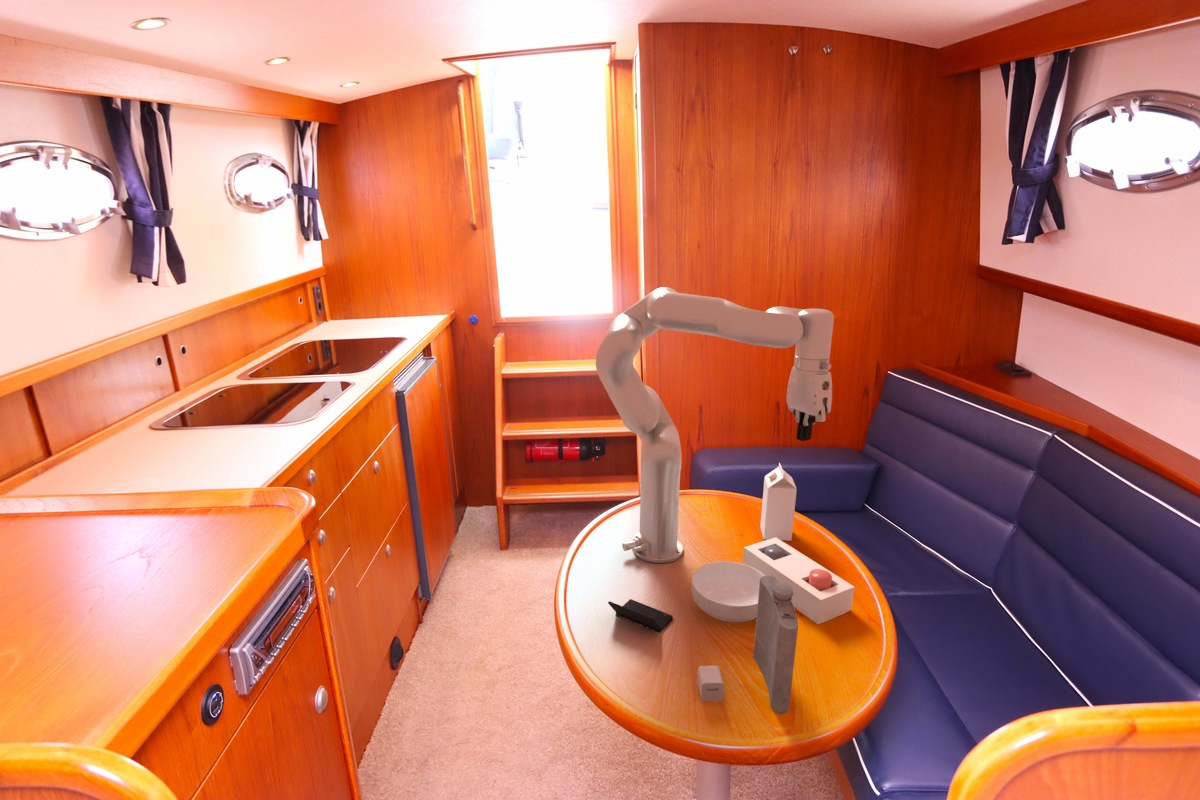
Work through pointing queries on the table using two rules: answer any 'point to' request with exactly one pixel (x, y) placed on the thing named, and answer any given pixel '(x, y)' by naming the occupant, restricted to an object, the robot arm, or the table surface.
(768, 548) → the grey rounded cylinder
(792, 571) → the box
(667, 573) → the table surface
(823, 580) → the red plunger
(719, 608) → the cereal bowl
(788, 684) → the hip flask
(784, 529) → the milk carton
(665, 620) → the handheld gaming console
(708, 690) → the usb wall charger
